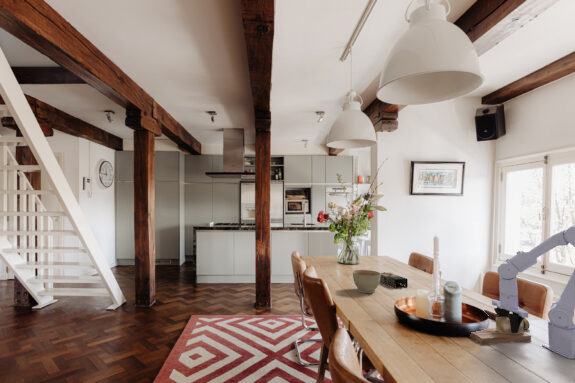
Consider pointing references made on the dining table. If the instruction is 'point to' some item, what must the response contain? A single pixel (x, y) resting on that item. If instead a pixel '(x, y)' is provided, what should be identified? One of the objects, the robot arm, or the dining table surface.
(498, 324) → the pale gold block
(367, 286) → the planter bowl
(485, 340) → the walnut board
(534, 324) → the dining table surface
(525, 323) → the gavel
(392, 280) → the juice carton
